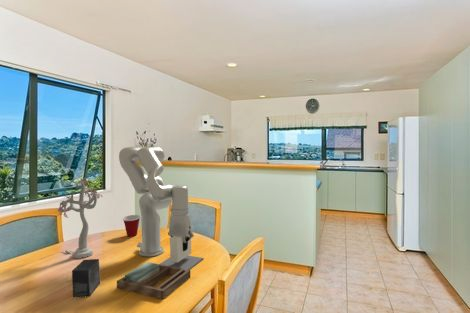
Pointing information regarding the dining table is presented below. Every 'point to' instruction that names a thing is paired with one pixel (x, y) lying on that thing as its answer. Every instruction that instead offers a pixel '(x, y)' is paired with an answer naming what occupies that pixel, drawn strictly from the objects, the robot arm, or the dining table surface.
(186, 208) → the robot arm
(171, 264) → the rubber mat
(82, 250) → the tree sculpture
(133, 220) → the plastic cup
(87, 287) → the small box
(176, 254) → the white rectangular block
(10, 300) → the dining table surface
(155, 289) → the walnut rack
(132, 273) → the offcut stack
